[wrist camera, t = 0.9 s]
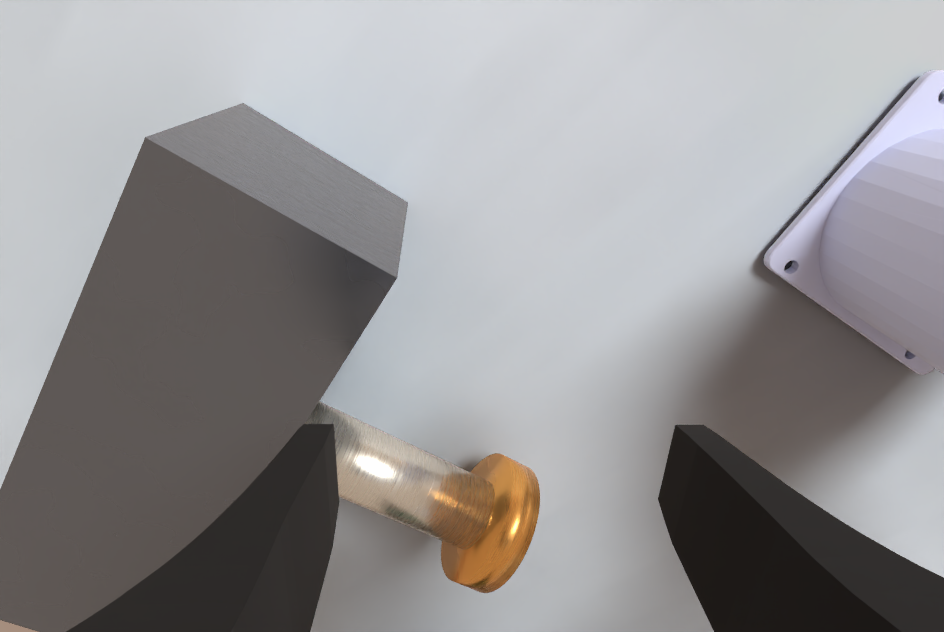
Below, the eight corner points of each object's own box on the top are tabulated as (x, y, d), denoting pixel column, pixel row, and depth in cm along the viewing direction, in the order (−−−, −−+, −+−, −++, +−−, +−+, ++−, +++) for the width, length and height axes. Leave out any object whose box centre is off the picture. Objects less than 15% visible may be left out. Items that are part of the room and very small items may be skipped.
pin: (528, 442, 24) (550, 533, 19) (464, 520, 25) (470, 621, 21) (288, 321, 21) (251, 396, 16) (233, 418, 22) (185, 511, 18)
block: (408, 202, 20) (396, 278, 14) (221, 510, 25) (152, 666, 19) (243, 103, 19) (145, 137, 12) (79, 454, 24) (-48, 605, 17)
